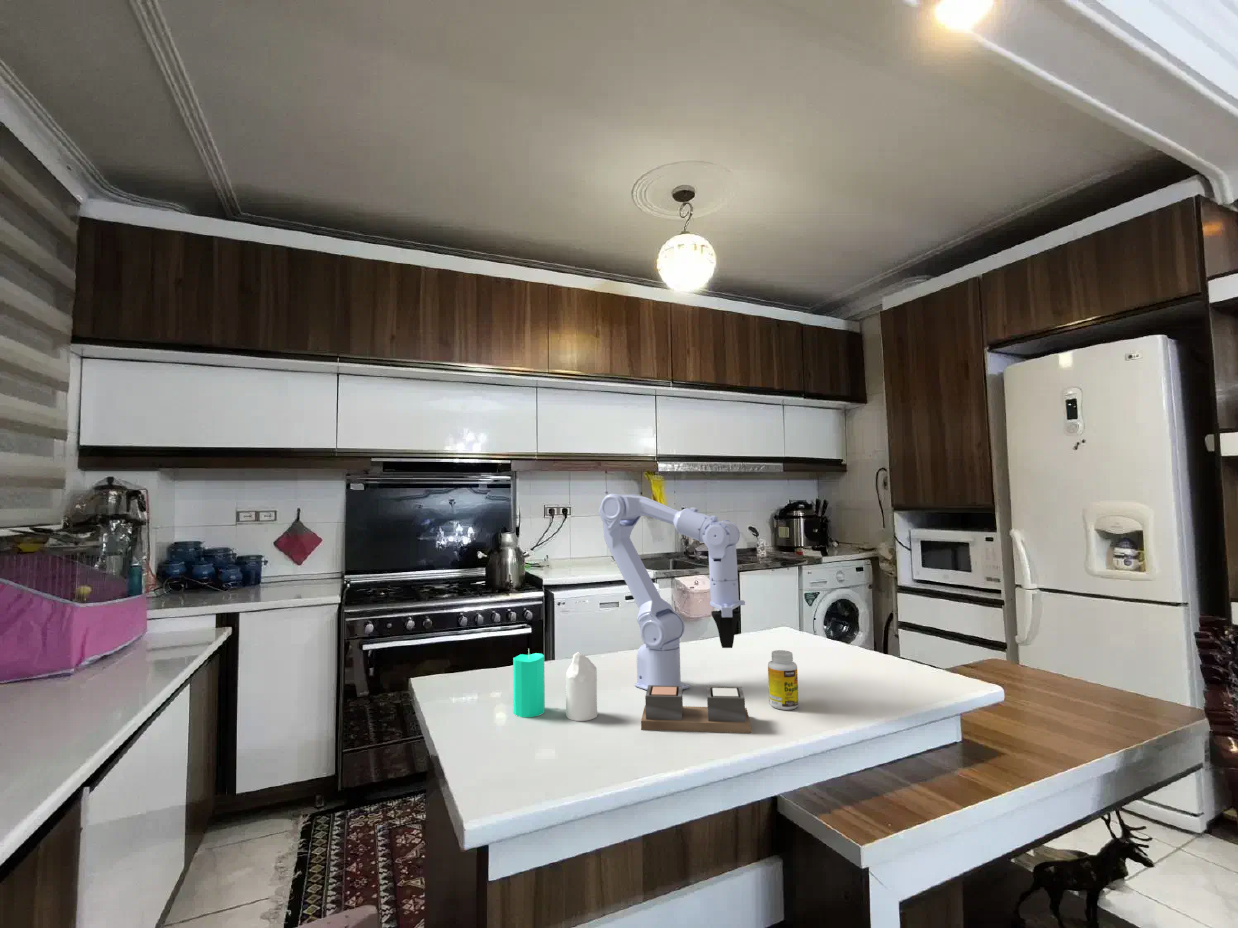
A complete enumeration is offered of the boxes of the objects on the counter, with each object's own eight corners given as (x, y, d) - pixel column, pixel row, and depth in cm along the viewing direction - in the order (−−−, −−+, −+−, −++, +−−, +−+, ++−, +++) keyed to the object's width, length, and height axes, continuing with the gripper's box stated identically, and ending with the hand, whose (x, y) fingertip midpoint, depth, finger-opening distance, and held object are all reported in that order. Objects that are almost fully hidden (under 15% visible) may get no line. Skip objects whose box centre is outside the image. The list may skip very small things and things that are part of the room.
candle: (550, 707, 112) (549, 645, 113) (535, 718, 107) (535, 653, 108) (522, 705, 114) (522, 644, 115) (507, 715, 109) (507, 651, 110)
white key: (712, 701, 105) (712, 687, 105) (737, 702, 105) (736, 688, 105) (713, 710, 101) (713, 695, 101) (738, 710, 100) (738, 696, 100)
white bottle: (598, 648, 111) (593, 655, 105) (599, 711, 110) (594, 722, 104) (568, 647, 112) (561, 654, 106) (569, 710, 111) (562, 721, 105)
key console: (645, 713, 108) (644, 683, 109) (746, 716, 106) (745, 685, 106) (641, 729, 100) (640, 697, 101) (751, 732, 98) (749, 700, 98)
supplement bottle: (785, 713, 107) (783, 657, 108) (763, 704, 112) (761, 651, 113) (805, 706, 110) (802, 652, 111) (782, 699, 115) (780, 647, 116)
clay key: (653, 700, 107) (653, 686, 107) (677, 700, 106) (676, 686, 106) (651, 708, 102) (651, 694, 102) (676, 708, 102) (675, 694, 102)
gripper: (746, 583, 109) (750, 656, 108) (740, 575, 124) (744, 639, 123) (709, 584, 110) (713, 656, 109) (707, 575, 125) (710, 639, 123)
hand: (727, 647), depth 116 cm, fingers closed
